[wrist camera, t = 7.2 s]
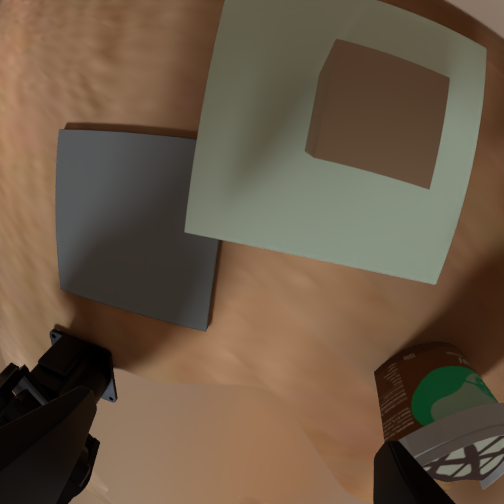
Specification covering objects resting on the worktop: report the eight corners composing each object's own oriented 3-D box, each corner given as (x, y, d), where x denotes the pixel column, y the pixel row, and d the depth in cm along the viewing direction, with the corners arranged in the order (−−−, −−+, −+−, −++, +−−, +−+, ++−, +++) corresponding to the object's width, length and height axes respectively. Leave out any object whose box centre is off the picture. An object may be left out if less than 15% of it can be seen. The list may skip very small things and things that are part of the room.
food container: (498, 358, 20) (548, 437, 10) (453, 406, 22) (486, 489, 13) (414, 301, 19) (477, 409, 9) (359, 365, 21) (383, 482, 12)
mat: (207, 327, 21) (205, 331, 21) (64, 286, 22) (60, 289, 21) (234, 145, 17) (233, 145, 16) (63, 129, 17) (59, 129, 17)
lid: (428, 277, 13) (480, 341, 8) (190, 226, 13) (137, 278, 8) (477, 51, 9) (548, 29, 4) (234, -18, 9) (205, -85, 4)
